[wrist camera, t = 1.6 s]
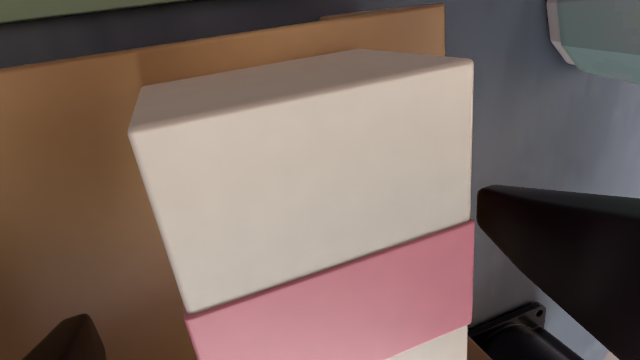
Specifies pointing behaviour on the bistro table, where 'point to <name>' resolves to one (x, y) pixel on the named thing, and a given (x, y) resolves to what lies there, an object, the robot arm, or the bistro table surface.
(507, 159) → the bistro table surface
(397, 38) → the shelf
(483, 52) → the bistro table surface
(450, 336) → the block
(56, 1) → the mat
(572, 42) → the disposable coffee cup
